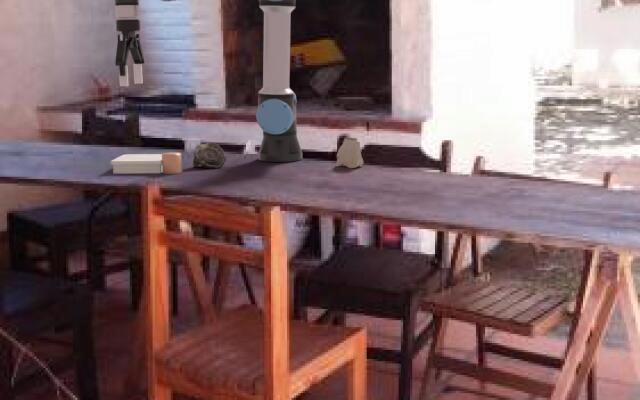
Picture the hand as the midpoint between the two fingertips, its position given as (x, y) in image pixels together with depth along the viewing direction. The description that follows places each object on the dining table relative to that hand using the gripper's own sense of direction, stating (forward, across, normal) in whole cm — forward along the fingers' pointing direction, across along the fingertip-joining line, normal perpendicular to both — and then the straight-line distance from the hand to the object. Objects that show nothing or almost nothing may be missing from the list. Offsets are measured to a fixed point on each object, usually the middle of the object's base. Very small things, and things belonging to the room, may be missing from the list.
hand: (131, 85), depth 303 cm
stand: (+27, +8, +5) cm, 29 cm away
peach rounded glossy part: (+27, +13, +17) cm, 34 cm away
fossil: (+27, +1, +26) cm, 37 cm away
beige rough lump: (+28, -3, +71) cm, 77 cm away
